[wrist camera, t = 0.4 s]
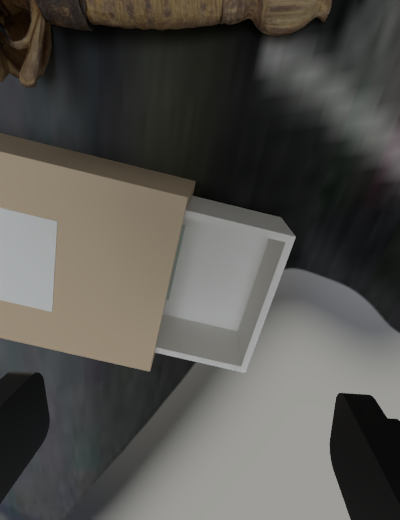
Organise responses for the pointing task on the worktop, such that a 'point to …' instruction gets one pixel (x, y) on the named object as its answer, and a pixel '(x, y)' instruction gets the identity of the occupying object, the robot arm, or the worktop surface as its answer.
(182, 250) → the tray
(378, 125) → the worktop surface
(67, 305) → the sleeve
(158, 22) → the sword hilt
